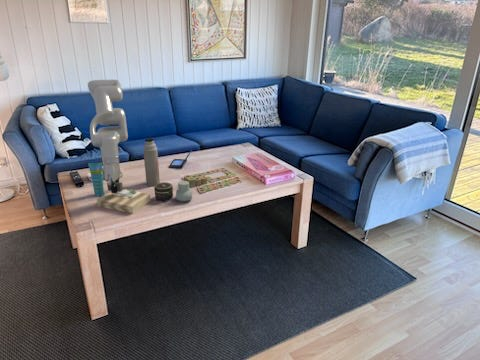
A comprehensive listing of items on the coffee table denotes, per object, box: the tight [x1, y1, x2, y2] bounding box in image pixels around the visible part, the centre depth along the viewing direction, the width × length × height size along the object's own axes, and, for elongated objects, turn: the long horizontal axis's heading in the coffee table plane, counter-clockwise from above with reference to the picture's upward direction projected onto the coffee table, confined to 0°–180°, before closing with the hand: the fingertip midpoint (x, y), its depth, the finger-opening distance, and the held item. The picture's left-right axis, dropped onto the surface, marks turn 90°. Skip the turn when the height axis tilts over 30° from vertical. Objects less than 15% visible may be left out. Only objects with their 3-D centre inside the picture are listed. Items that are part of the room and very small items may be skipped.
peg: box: [106, 181, 134, 196], centre depth 197 cm, size 13×2×7 cm, turn 82°
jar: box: [153, 182, 174, 202], centre depth 205 cm, size 10×10×8 cm
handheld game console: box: [168, 149, 193, 170], centre depth 253 cm, size 16×13×9 cm
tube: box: [87, 162, 105, 197], centre depth 205 cm, size 7×5×19 cm, turn 103°
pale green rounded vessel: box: [175, 180, 193, 202], centre depth 203 cm, size 11×8×10 cm
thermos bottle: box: [143, 137, 161, 187], centre depth 219 cm, size 8×8×28 cm
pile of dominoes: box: [181, 167, 243, 195], centre depth 230 cm, size 35×27×6 cm
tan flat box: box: [96, 188, 151, 214], centre depth 199 cm, size 22×17×4 cm
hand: (115, 191), depth 198 cm, fingers closed on peg, 2 cm apart
